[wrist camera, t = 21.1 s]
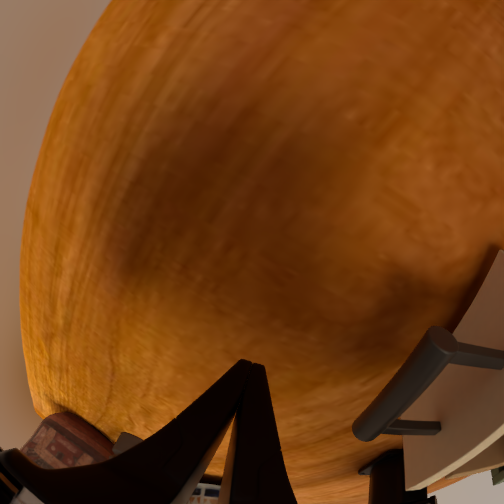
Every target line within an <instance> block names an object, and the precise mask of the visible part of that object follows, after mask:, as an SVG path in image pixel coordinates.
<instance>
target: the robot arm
mask: <svg viewBox="0 0 504 504" xmlns="http://www.w3.org/2000/svg"><path fill="white" fill-rule="evenodd" d="M235 413H236V414H235ZM234 416H235V418H234ZM233 418H234V422H233V427H232V433H231V438H230V443H229V448H228V453H227V458H226V463H225V468H224V473H223V478H222V482H221V487H220V492H219V497H218V502H217V504H298V503H297V501H296V498H295V496H294V493H293V490H292V488H291V485H290V482H289V479H288V476H287V472H286V468H285V464H284V460H283V455H282V451H281V446H280V441H279V436H278V431H277V426H276V421H275V416H274V411H273V406H272V401H271V396H270V391H269V386H268V380H267V375H266V370H265V366H264V365H261V364H258V363H253V364H252V362H251V361H248V360H245V359H240V360H239V361H238V362H237V363H236V364H235V365H234V366H232V367H231V368H230V369H229V370H228V371H227V372H226V373H225V374H224V375H223V376H222V377H221V378H220V379H219V380H217V381H216V382H215V383H214V384H213V385H212V386H211V387H210V388H209V389H208V390H206V391H205V392H204V393H203V394H202V395H201V396H200V397H199V398H197V399H196V400H195V401H194V402H193V403H192V404H191V405H189V406H188V407H187V408H186V409H185V410H184V411H182V412H181V413H180V414H179V415H178V416H177V417H176V418H174V419H173V420H172V421H170V422H169V423H168V424H167V425H165V426H164V427H163V428H162V429H160V430H159V431H158V432H156V433H155V434H153V435H152V436H150V437H148V438H147V439H145V440H144V441H142V442H140V443H139V444H137V445H135V446H133V447H131V448H130V449H128V450H126V451H124V452H122V453H120V454H119V455H117V456H115V457H113V458H110V459H108V460H105V461H103V462H99V463H95V464H89V465H82V466H75V467H68V468H59V469H44V468H42V467H40V466H39V465H38V464H36V463H35V462H34V461H33V460H31V459H30V458H29V457H27V456H26V455H25V454H24V453H22V452H21V451H20V450H18V449H17V448H13V449H9V450H5V451H4V450H3V449H2V448H1V447H0V504H186V503H187V501H188V500H189V498H190V496H191V495H192V493H193V491H194V490H195V488H196V486H197V485H198V483H199V481H200V479H201V478H202V476H203V474H204V472H205V471H206V469H207V467H208V465H209V463H210V462H211V460H212V458H213V456H214V454H215V453H216V451H217V449H218V447H219V445H220V443H221V441H222V440H223V438H224V436H225V434H226V432H227V430H228V428H229V426H230V424H231V422H232V420H233ZM358 474H359V475H370V485H369V502H368V504H437V499H436V496H435V495H434V496H431V497H430V498H427V486H426V487H424V488H422V489H419V490H410V491H406V490H405V464H404V451H402V450H391V451H387V452H385V453H384V454H383V455H381V456H380V457H378V458H377V459H375V460H374V461H373V462H371V463H370V464H368V465H367V466H365V467H363V468H362V469H360V470H359V471H358Z"/></svg>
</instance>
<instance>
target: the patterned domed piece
mask: <svg viewBox="0 0 504 504" xmlns="http://www.w3.org/2000/svg"><path fill="white" fill-rule="evenodd" d="M220 487H221V486H219V485H211V484H203V483H198V485H197V486H196V488H195V490H194V491H193V493H192V495H191V496H190V498H189V500H188V501H187V504H217V502H218V497H219V492H220Z"/></svg>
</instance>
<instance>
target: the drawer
mask: <svg viewBox="0 0 504 504" xmlns="http://www.w3.org/2000/svg"><path fill="white" fill-rule="evenodd" d="M399 417H401V420H400V419H398V418H399ZM352 432H353V434H354V436H355V437H356V438H357V439H359V440H361V441H365V442H368V441H372V440H374V439H375V438H376V437H377V436H379V435H380V434H392V435H402V436H403V448H404V464H405V490H406V491H410V490H419V489H422V488H424V487H426V486H428V485H430V484H432V483H434V482H435V481H437V480H439V479H441V478H442V477H444V476H445V480H447V479H453V478H458V477H463V476H468V475H472V474H476V473H480V472H484V471H488V470H491V469H495V468H498V467H501V466H504V251H503V250H499V251H498V254H497V256H496V258H495V260H494V262H493V264H492V267H491V269H490V271H489V273H488V275H487V277H486V278H485V280H484V282H483V284H482V286H481V288H480V290H479V291H478V293H477V295H476V297H475V299H474V300H473V302H472V304H471V305H470V307H469V309H468V310H467V312H466V314H465V315H464V317H463V318H462V320H461V321H460V323H459V325H458V326H457V328H456V329H455V331H454V332H453V334H451V333H450V332H449V331H448V330H446V329H444V328H442V327H440V326H431V327H430V328H428V330H427V331H426V333H425V334H424V336H423V337H422V339H421V340H420V342H419V343H418V345H417V346H416V347H415V349H414V350H413V352H412V353H411V354H410V356H409V357H408V358H407V360H406V361H405V363H404V364H403V365H402V366H401V368H400V369H399V370H398V372H397V373H396V374H395V375H394V377H393V378H392V379H391V380H390V382H389V383H388V384H387V385H386V386H385V388H384V389H383V390H382V391H381V392H380V393H379V395H378V396H377V397H376V398H375V399H374V400H373V401H372V403H371V404H370V405H369V406H368V407H367V408H366V409H365V410H364V411H363V412H362V413H361V414H360V416H359V417H358V418H357V419H356V420H355V421H354V422H353V425H352Z"/></svg>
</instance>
